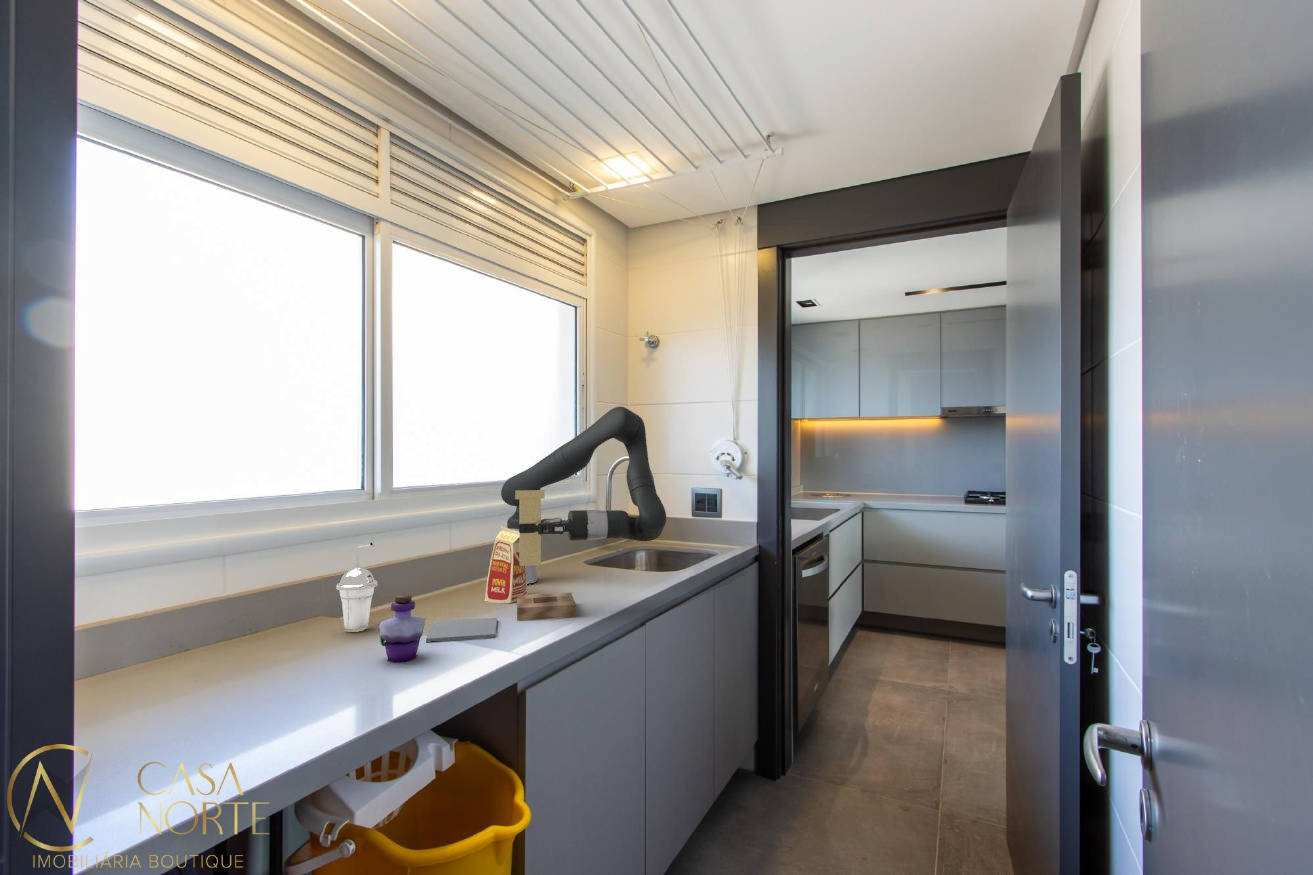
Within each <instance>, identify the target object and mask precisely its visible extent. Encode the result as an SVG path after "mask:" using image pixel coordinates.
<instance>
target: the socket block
mask: <svg viewBox="0 0 1313 875" xmlns="http://www.w3.org/2000/svg"><path fill="white" fill-rule="evenodd" d="M576 617H577V604H576V601H575V599H574V596H573V593H572V592H557V593H556V592H555V593H553V592H552V593H534V594H533V593H532V594H527V595H517V601H516V621H520V622H521V621H533V620H547V619H548V620H549V619H552V620H553V619H563V618H564V619H567V618H576Z"/></svg>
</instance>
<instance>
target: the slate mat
mask: <svg viewBox="0 0 1313 875" xmlns="http://www.w3.org/2000/svg"><path fill="white" fill-rule="evenodd" d="M497 626H498V617H486V618H485V617H484V618H482V617H481V618H469V619H468V618H467V619H453V620H452V619H451V620H435V621H434V622H433V624H432V627H431V628H430V630H429V632H428V634H427V636H426V638H425V643H432V642H431V641H441V642H451V641H452V642H453V641H454V642H455V641H467V640H468V641H469V640H483V639H495V638H496V635H497V634H496V633H497Z"/></svg>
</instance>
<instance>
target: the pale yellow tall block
mask: <svg viewBox="0 0 1313 875" xmlns="http://www.w3.org/2000/svg"><path fill="white" fill-rule="evenodd" d="M545 496H546V494H545V489H541V490H524V491H515V499H519V525H520V524H532V523H541V520H542V500H543V499H545ZM541 541H542V536H541V535H540V534H537V533H519V563H520V566H530V565H537V566H541V565H542V542H541Z"/></svg>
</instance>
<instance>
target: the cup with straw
mask: <svg viewBox="0 0 1313 875" xmlns="http://www.w3.org/2000/svg"><path fill="white" fill-rule="evenodd" d="M371 546H374V543H373V542H372V541H371V542H364V543H360V544H359V543H358V544H357V545H356V546H355V551H354V554H355V555H354V556H355V557H354V558H355V559H354V568H351V569H349V570H347V571H345V573H344V574H343V575H342V577H341V579H340V580H339V582H338V583H337V584H336V587H335V589H336V590H337V591H339V596H340V600H341V607H342V608H341V609H342V614H343V615H342V617H343V627H344V628H346V629H360V628H364V627H366V626H367V627H368V624H369V620H370V612H371V607H372V606H371V605H372V598H373V595H374V591H375V587H378V585H379V584H378V581H377V579H376V580H375V578H374V575H373V573H372V572H371V571H370V570H368V569H366V568H363V567H359V563H360V562H359V560H360V559H359V558H360V556H359V555H360V548H365V547H371Z"/></svg>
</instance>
